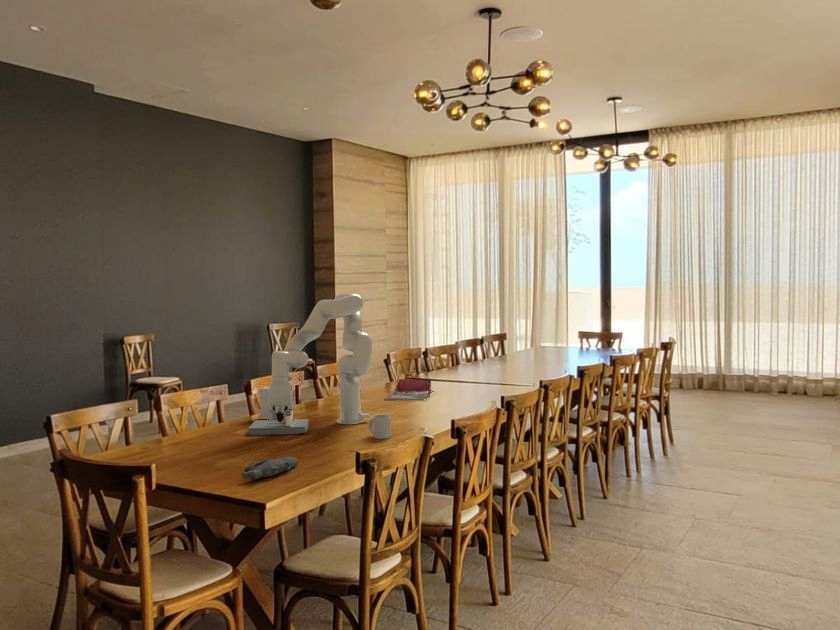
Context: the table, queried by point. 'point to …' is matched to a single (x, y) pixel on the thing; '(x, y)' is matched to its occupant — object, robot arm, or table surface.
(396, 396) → the open laptop
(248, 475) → the grey rough slab
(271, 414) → the circuit breaker
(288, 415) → the lever
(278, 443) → the table surface
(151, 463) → the table surface
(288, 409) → the back lever
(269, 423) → the switch panel
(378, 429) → the cup
